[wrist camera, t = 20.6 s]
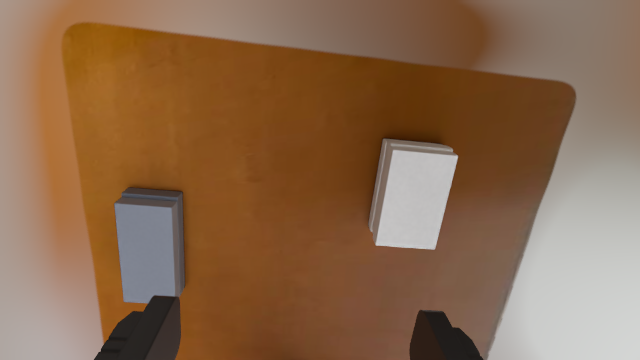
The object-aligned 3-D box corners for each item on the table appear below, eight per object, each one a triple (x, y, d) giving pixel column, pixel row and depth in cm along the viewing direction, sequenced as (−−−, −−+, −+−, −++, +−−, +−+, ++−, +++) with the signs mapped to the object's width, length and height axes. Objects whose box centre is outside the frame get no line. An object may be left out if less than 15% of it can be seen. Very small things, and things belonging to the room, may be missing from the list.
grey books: (128, 187, 37) (112, 199, 34) (182, 191, 37) (172, 203, 34) (136, 283, 41) (123, 302, 38) (185, 286, 41) (175, 305, 38)
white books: (383, 136, 36) (389, 143, 34) (442, 142, 37) (453, 149, 34) (367, 225, 40) (372, 237, 37) (422, 229, 40) (431, 242, 38)
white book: (389, 145, 34) (393, 149, 32) (452, 151, 34) (458, 155, 33) (372, 238, 37) (375, 245, 36) (430, 242, 38) (435, 249, 36)
